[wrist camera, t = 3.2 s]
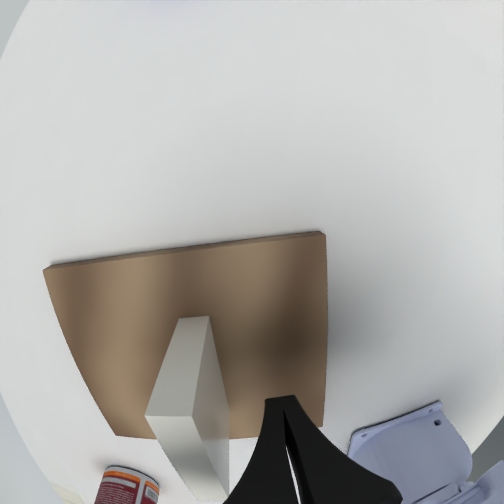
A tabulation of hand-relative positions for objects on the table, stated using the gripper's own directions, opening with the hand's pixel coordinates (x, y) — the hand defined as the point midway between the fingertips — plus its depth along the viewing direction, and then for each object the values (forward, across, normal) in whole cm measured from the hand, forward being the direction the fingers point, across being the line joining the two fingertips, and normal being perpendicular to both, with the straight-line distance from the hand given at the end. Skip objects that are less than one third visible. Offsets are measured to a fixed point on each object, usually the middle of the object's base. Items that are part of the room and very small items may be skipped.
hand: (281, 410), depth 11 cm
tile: (+4, +4, 0) cm, 5 cm away
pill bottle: (+5, +16, +17) cm, 24 cm away
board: (+5, +5, 0) cm, 7 cm away
